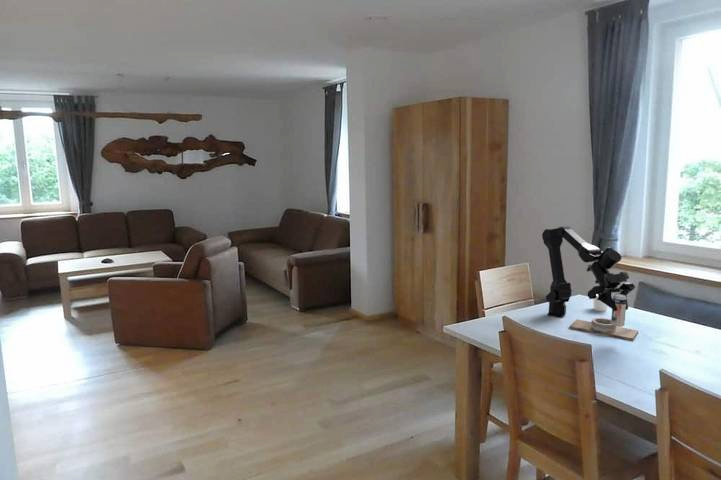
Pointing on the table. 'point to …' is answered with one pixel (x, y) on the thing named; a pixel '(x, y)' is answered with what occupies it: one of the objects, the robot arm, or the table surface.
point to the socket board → (604, 328)
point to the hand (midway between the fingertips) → (621, 309)
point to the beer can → (619, 310)
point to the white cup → (599, 305)
